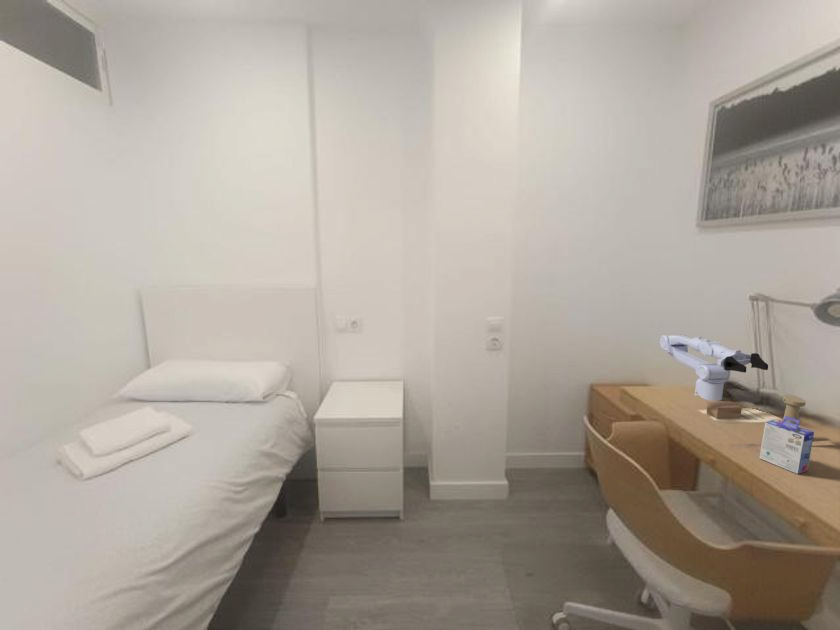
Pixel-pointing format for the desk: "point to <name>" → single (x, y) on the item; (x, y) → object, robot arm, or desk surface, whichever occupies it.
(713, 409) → the sanding block
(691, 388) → the desk surface
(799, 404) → the handle
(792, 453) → the ink cartridge box
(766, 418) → the sanding board
